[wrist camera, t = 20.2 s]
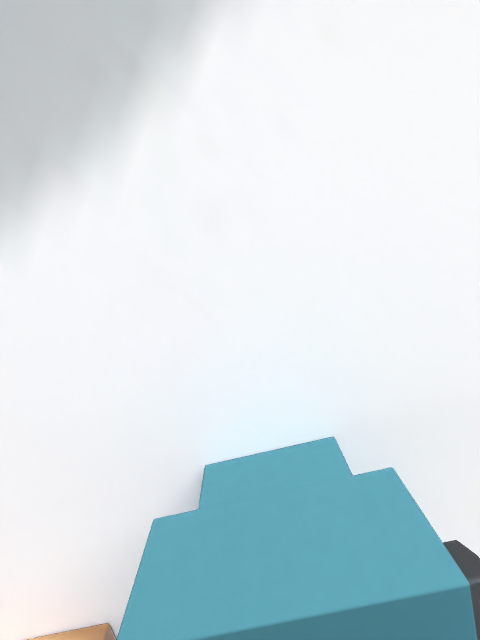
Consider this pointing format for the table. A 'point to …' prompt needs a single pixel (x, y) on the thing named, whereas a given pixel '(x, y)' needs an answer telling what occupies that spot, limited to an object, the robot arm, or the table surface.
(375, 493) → the teal stepped block
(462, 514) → the table surface
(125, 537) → the table surface
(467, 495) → the table surface
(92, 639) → the block
